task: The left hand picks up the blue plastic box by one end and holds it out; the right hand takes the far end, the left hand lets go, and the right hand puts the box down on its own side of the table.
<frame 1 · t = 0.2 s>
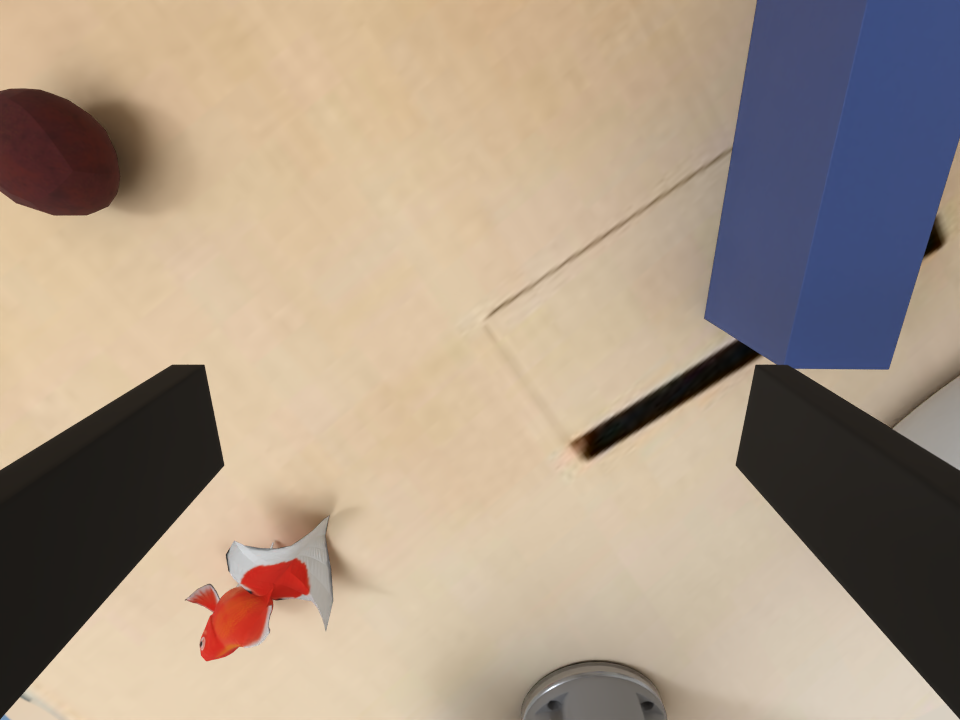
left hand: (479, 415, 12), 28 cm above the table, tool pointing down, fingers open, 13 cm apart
dark maroon ball: (92, 159, 36), on the table
fish: (282, 552, 48), on the table
box: (777, 140, 36), on the table
projector: (945, 446, 44), on the table
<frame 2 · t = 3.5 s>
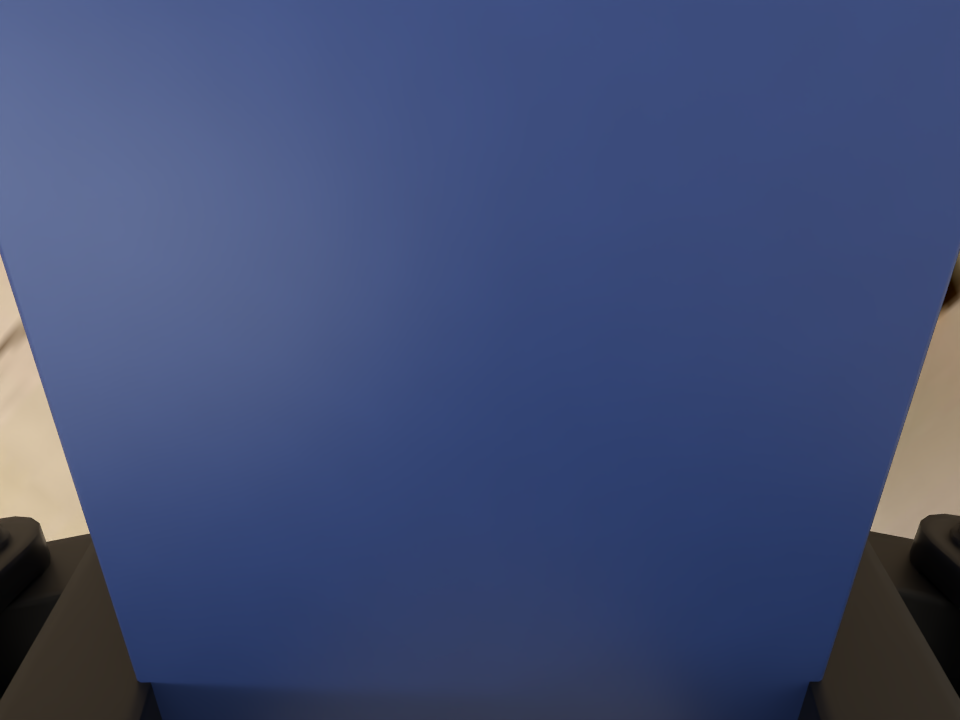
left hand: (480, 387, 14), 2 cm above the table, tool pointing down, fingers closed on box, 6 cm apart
box: (479, 8, 12), on the table, touching left hand
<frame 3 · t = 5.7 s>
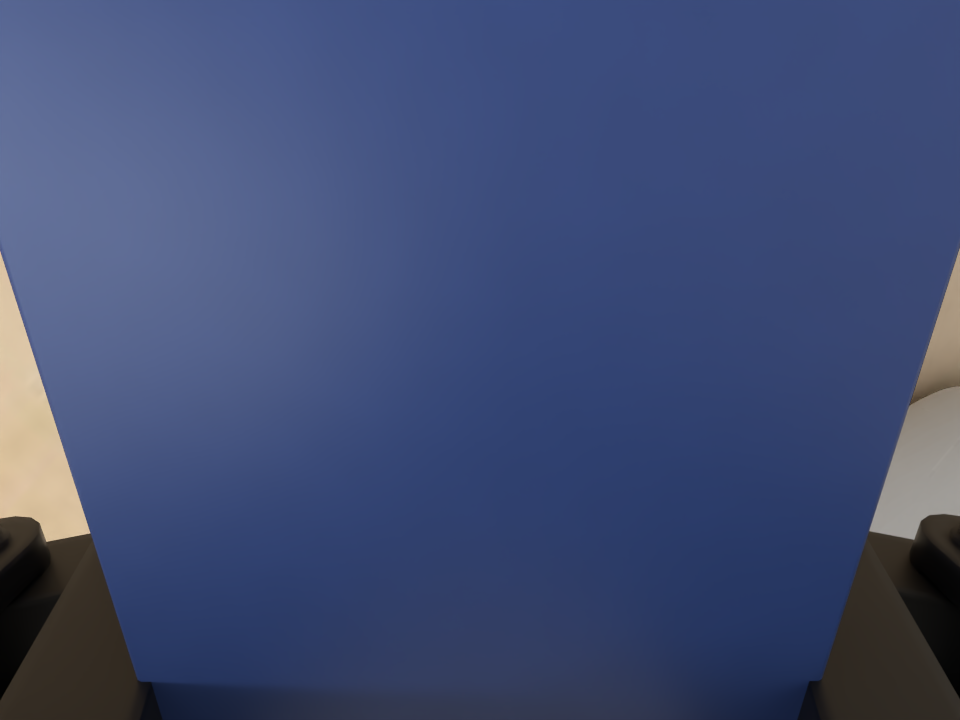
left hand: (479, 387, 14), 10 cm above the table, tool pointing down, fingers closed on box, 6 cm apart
box: (479, 7, 12), point 9 cm above the table, touching left hand
projector: (826, 553, 29), on the table
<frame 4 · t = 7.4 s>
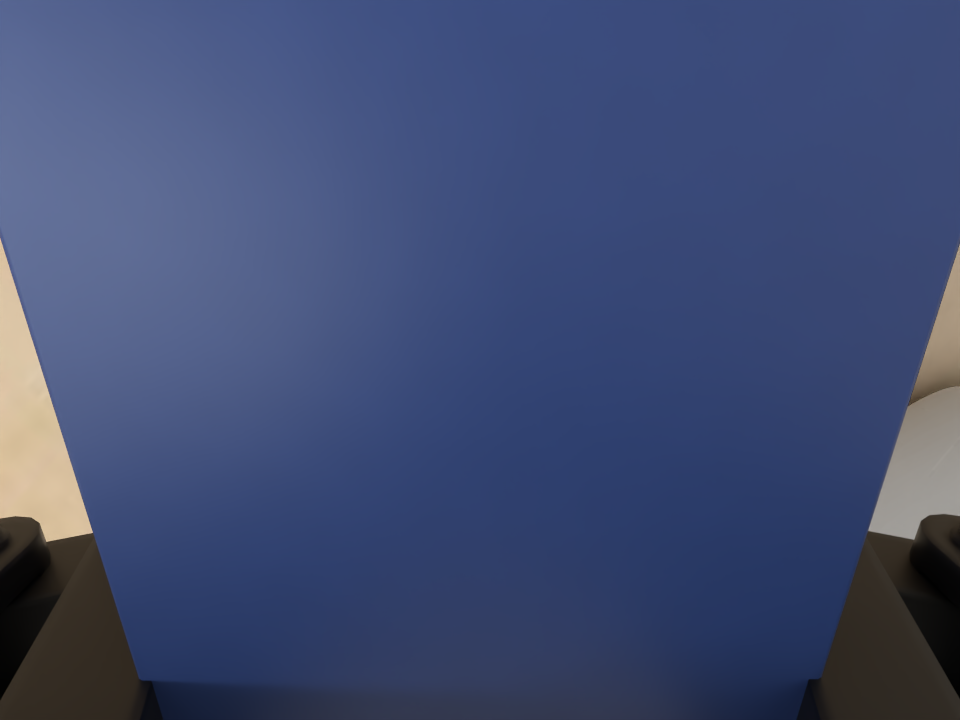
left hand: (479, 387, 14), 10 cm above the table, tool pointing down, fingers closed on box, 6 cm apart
box: (480, 7, 12), point 9 cm above the table, touching left hand, right hand
projector: (825, 553, 29), on the table
when the left hand's fingers open (10 cm above the table, at t = 8.4 s): box stays where it is, held by the right hand.
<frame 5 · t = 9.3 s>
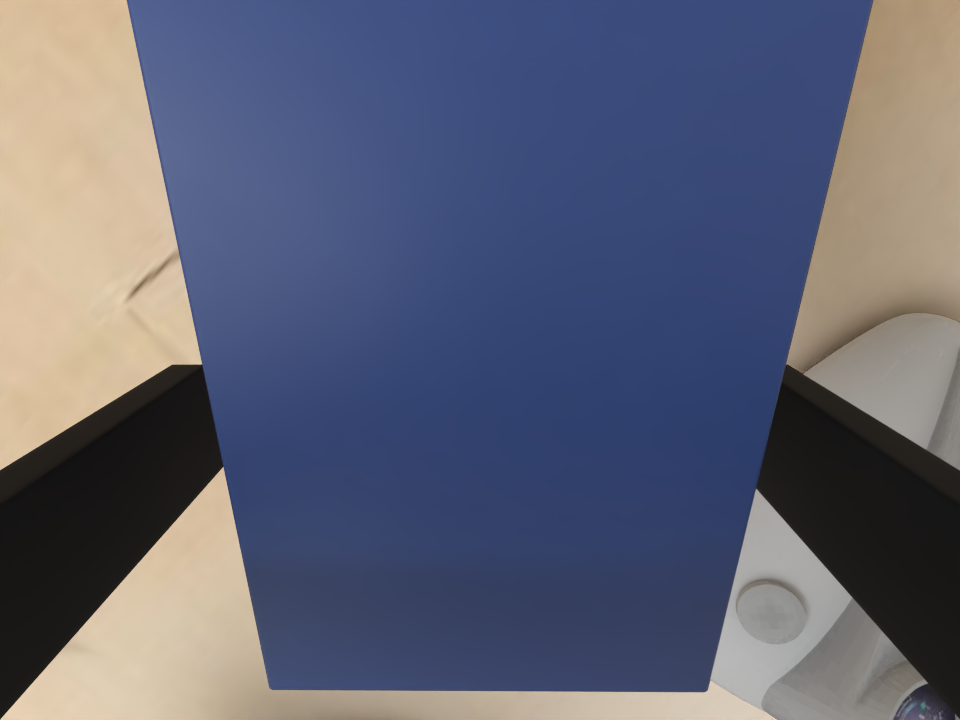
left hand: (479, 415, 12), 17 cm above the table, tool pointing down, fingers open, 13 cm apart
projector: (795, 473, 32), on the table
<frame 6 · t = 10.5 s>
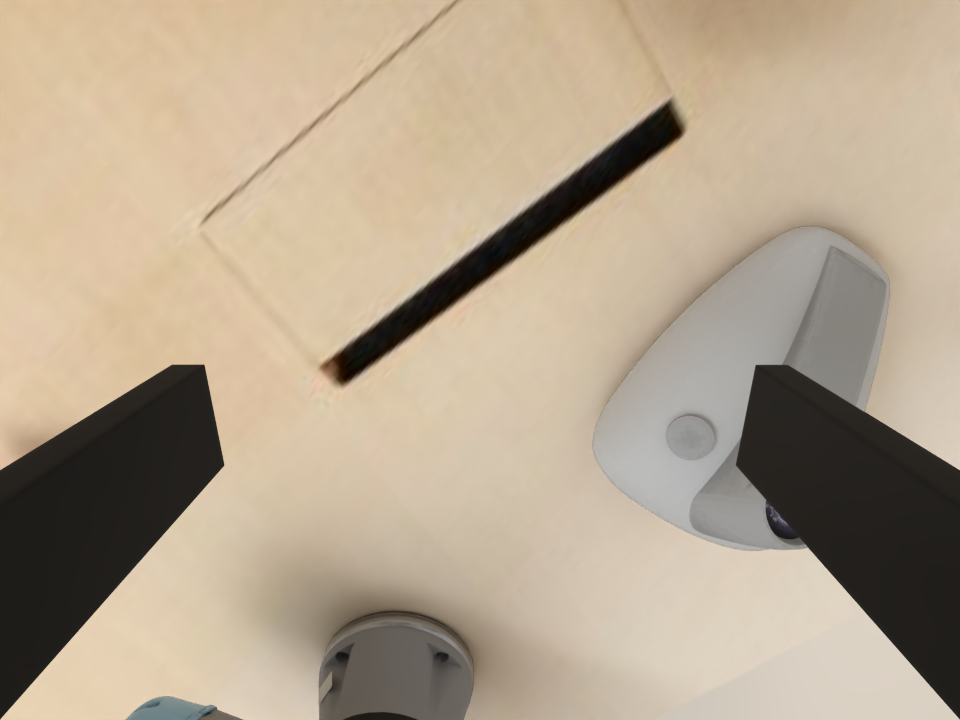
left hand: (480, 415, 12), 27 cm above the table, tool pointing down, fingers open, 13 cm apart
projector: (725, 366, 41), on the table
when the right hand's fingers open (8 cm above the table, at t = 13.6 s): box stays where it is, on the table.
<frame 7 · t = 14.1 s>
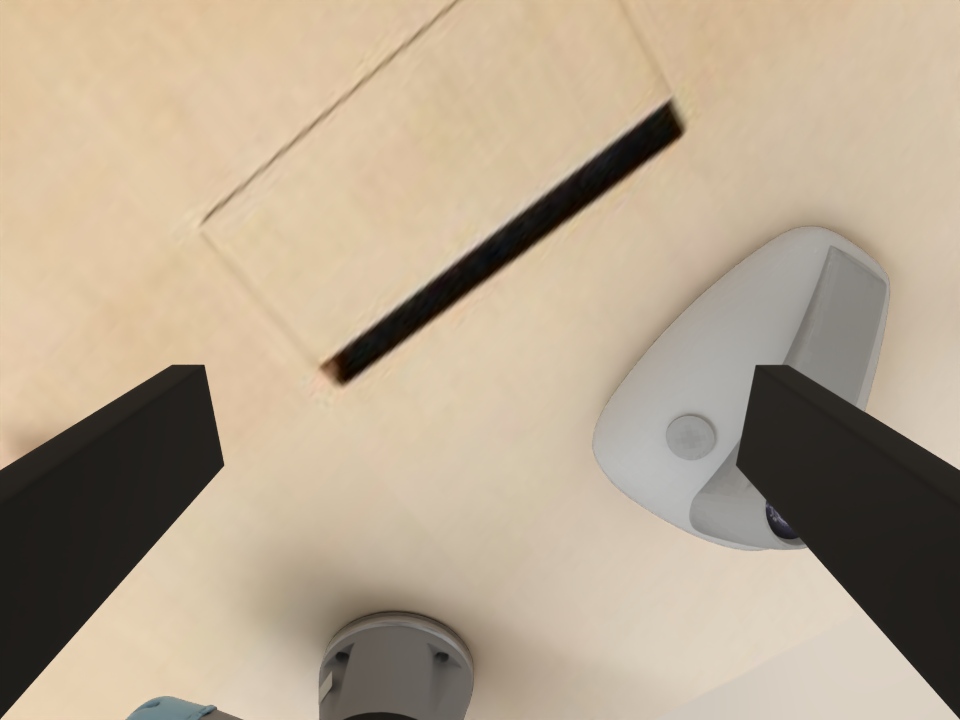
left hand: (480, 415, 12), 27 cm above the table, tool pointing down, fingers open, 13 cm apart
projector: (725, 366, 41), on the table
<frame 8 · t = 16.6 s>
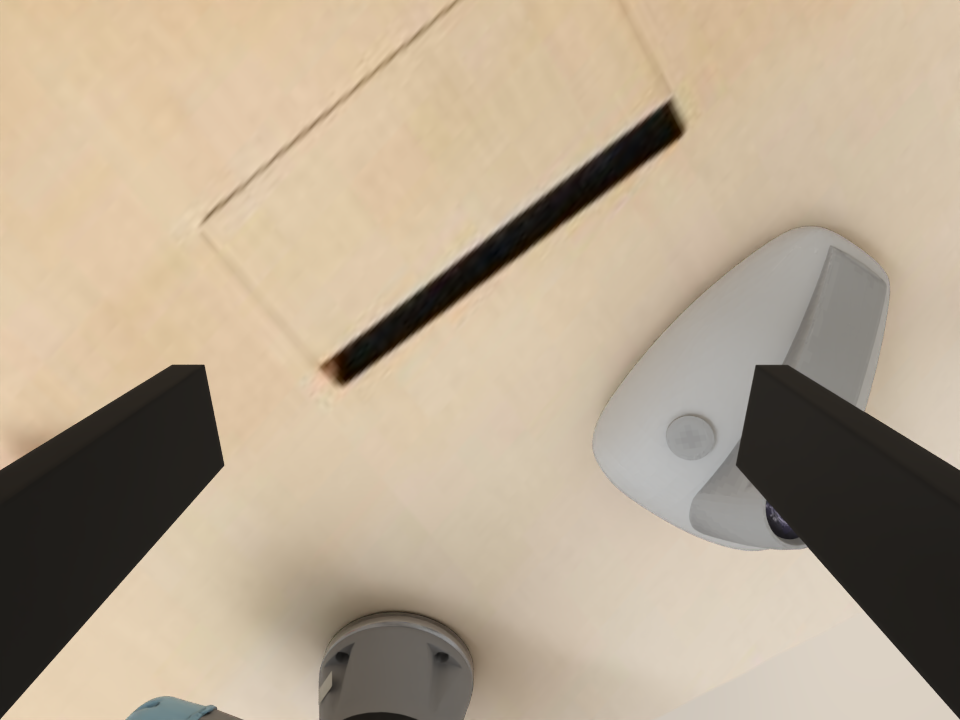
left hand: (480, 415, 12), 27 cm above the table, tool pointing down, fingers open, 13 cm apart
projector: (725, 366, 41), on the table
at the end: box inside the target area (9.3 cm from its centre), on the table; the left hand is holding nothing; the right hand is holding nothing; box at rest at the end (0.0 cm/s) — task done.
